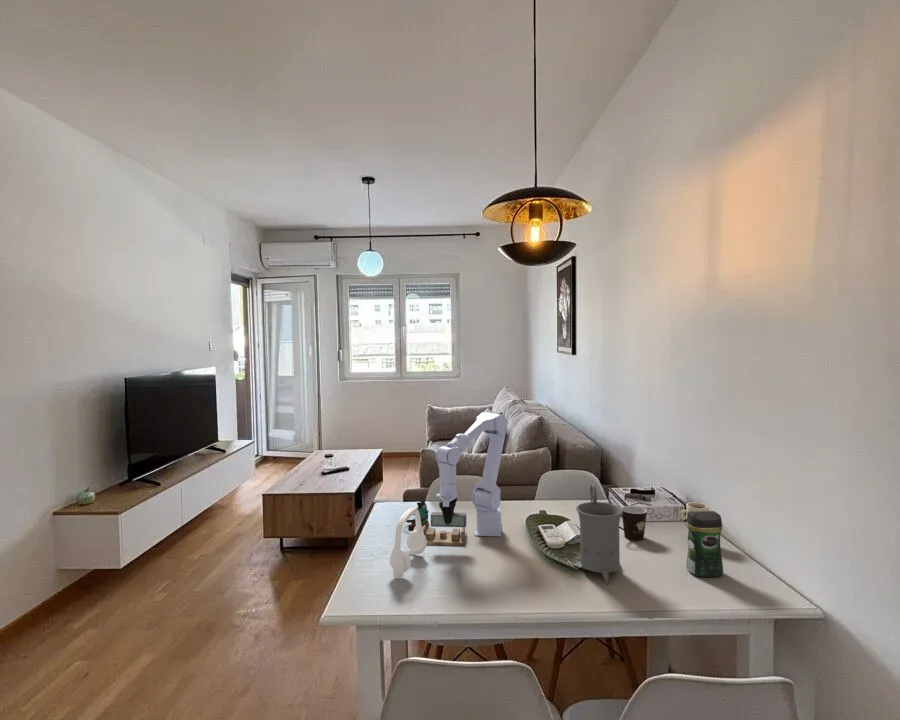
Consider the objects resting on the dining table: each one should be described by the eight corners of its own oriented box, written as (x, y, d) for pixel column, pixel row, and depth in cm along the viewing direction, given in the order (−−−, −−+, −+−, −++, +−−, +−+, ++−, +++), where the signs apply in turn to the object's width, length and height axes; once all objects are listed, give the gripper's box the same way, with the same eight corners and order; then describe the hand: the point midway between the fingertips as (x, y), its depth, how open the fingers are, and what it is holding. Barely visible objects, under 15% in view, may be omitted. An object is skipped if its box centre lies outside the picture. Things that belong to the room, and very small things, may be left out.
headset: (408, 582, 156) (406, 522, 155) (385, 579, 158) (384, 520, 157) (429, 555, 175) (428, 502, 175) (409, 553, 177) (408, 500, 177)
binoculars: (405, 497, 207) (429, 496, 205) (408, 524, 207) (432, 523, 205) (398, 504, 198) (424, 503, 196) (401, 532, 199) (427, 531, 197)
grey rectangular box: (466, 524, 182) (466, 512, 181) (465, 527, 178) (465, 515, 178) (432, 523, 183) (431, 512, 183) (430, 526, 180) (430, 515, 180)
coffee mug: (643, 533, 191) (643, 506, 191) (649, 542, 183) (649, 513, 182) (610, 532, 193) (610, 505, 192) (615, 541, 184) (615, 513, 184)
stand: (466, 535, 193) (466, 524, 192) (464, 545, 183) (464, 534, 183) (423, 533, 195) (423, 523, 194) (418, 544, 185) (418, 533, 184)
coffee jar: (714, 566, 163) (714, 507, 162) (727, 578, 155) (727, 515, 154) (682, 567, 163) (682, 507, 162) (693, 578, 155) (693, 516, 154)
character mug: (710, 539, 185) (710, 502, 184) (717, 547, 178) (717, 509, 177) (678, 537, 186) (678, 501, 186) (683, 545, 179) (683, 508, 179)
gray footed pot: (633, 584, 152) (632, 498, 151) (581, 584, 152) (581, 499, 152) (614, 557, 171) (614, 481, 170) (568, 557, 171) (568, 481, 170)
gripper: (439, 476, 188) (439, 513, 188) (433, 487, 173) (434, 528, 174) (458, 476, 187) (459, 514, 187) (454, 488, 173) (455, 528, 173)
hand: (448, 521), depth 181 cm, fingers closed on grey rectangular box, 3 cm apart
